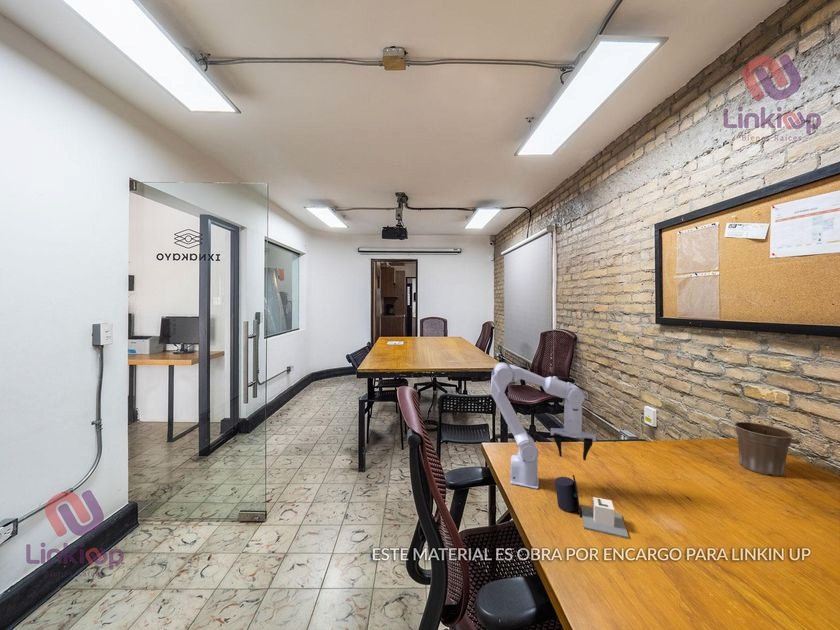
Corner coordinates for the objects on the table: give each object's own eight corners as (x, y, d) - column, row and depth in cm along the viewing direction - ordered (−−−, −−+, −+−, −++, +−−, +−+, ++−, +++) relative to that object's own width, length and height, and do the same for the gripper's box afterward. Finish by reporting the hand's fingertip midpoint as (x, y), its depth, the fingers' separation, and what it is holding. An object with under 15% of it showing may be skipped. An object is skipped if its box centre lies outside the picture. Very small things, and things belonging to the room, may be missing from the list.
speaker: (585, 507, 104) (582, 475, 104) (581, 517, 99) (577, 483, 99) (560, 501, 108) (557, 470, 109) (555, 510, 104) (551, 477, 104)
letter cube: (594, 522, 96) (594, 505, 96) (592, 512, 101) (592, 496, 101) (614, 527, 94) (614, 509, 94) (611, 516, 99) (611, 499, 99)
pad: (584, 528, 94) (584, 526, 94) (580, 507, 104) (580, 505, 104) (628, 538, 90) (628, 537, 90) (620, 515, 100) (620, 513, 100)
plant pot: (796, 472, 128) (797, 431, 128) (788, 484, 119) (789, 440, 119) (739, 456, 142) (740, 419, 141) (728, 466, 133) (729, 426, 132)
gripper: (550, 420, 116) (550, 458, 116) (597, 426, 110) (596, 466, 110) (551, 414, 122) (550, 450, 122) (594, 419, 116) (594, 457, 117)
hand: (572, 457), depth 117 cm, fingers open, 7 cm apart
